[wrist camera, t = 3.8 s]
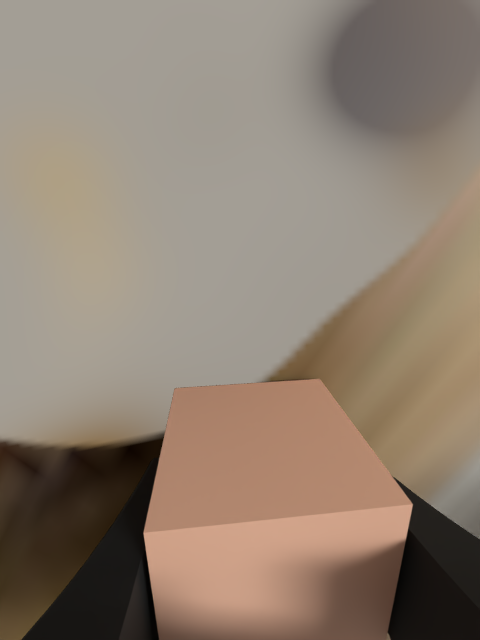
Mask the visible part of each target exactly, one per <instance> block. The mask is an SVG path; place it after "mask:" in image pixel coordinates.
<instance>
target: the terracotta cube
mask: <svg viewBox="0 0 480 640" xmlns="http://www.w3.org/2000/svg"><path fill="white" fill-rule="evenodd" d="M412 506H413V504H412V502H411V501H410V500H409V498H408V497H407V496H406V494H405V493H404V492H403V490H402V489H401V488H400V486H399V485H398V484H397V482H396V481H395V480H394V478H393V477H392V476H391V474H390V473H389V471H388V470H387V469H386V467H385V466H384V465H383V463H382V462H381V461H380V459H379V458H378V457H377V455H376V454H375V453H374V451H373V450H372V449H371V447H370V446H369V445H368V443H367V442H366V441H365V439H364V438H363V437H362V435H361V434H360V432H359V431H358V430H357V428H356V427H355V426H354V424H353V423H352V422H351V420H350V419H349V418H348V416H347V415H346V414H345V412H344V411H343V410H342V408H341V407H340V406H339V404H338V403H337V402H336V400H335V399H334V397H333V396H332V395H331V393H330V392H329V391H328V389H327V388H326V387H325V385H324V384H323V383H322V381H321V380H320V379H310V380H294V381H278V382H263V383H247V384H231V385H216V386H200V387H184V388H175V389H174V393H173V398H172V403H171V407H170V412H169V417H168V421H167V426H166V430H165V435H164V440H163V444H162V449H161V454H160V458H159V463H158V468H157V472H156V477H155V482H154V486H153V491H152V496H151V500H150V505H149V510H148V514H147V519H146V524H145V528H144V540H145V547H146V553H147V560H148V567H149V574H150V581H151V588H152V594H153V601H154V608H155V615H156V622H157V629H158V635H159V640H386V637H387V632H388V627H389V622H390V617H391V612H392V607H393V602H394V597H395V592H396V587H397V582H398V577H399V572H400V567H401V562H402V557H403V552H404V547H405V542H406V536H407V531H408V526H409V521H410V516H411V511H412Z"/></svg>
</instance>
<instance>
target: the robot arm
mask: <svg viewBox="0 0 480 640" xmlns="http://www.w3.org/2000/svg"><path fill="white" fill-rule="evenodd" d="M158 463H159V458H154V459H153V460H152V461H151V462H150V464H149V466H148V468H147V470H146V471H145V473H144V475H143V477H142V478H141V480H140V482H139V484H138V485H137V487H136V488H135V490H134V492H133V493H132V495H131V497H130V498H129V500H128V501H127V503H126V504H125V506H124V508H123V509H122V511H121V512H120V514H119V515H118V517H117V518H116V520H115V521H114V523H113V524H112V526H111V527H110V529H109V530H108V531H107V533H106V534H105V536H104V537H103V538H102V540H101V541H100V543H99V544H98V545H97V547H96V548H95V550H94V551H93V552H92V554H91V555H90V557H89V558H88V559H87V561H86V562H85V563H84V565H83V566H82V567H81V568H80V570H79V571H78V572H77V574H76V575H75V576H74V578H73V579H72V580H71V581H70V583H69V584H68V585H67V586H66V588H65V589H64V590H63V591H62V593H61V594H60V595H59V596H58V597H57V599H56V600H55V601H54V602H53V604H52V605H51V606H50V607H49V608H48V610H47V611H46V612H45V613H44V614H43V615H42V616H41V618H40V619H39V620H38V621H37V622H36V623H35V625H34V626H33V627H32V628H31V629H30V630H29V632H28V633H27V634H26V635H25V636H24V637H23V638H22V640H159V635H158V629H157V622H156V615H155V608H154V601H153V594H152V588H151V581H150V574H149V567H148V560H147V553H146V547H145V540H144V528H145V524H146V519H147V514H148V510H149V505H150V500H151V496H152V491H153V486H154V482H155V477H156V472H157V468H158ZM391 476H392V475H391ZM392 477H393V476H392ZM393 478H394V477H393ZM394 480H395V481H396V482H397V484H398V485H399V486H400V488H401V489H402V490H403V492H404V493H405V494H406V496H407V497H408V498H409V500H410V501H411V502H412V504H413V506H412V511H411V516H410V521H409V526H408V531H407V536H406V542H405V547H404V552H403V557H402V562H401V567H400V572H399V577H398V582H397V587H396V592H395V597H394V602H393V607H392V612H391V617H390V622H389V627H388V634H389V636H390V639H391V640H480V539H478V538H477V537H475V536H473V535H472V534H470V533H469V532H467V531H466V530H464V529H463V528H462V527H460V526H459V525H457V524H456V523H454V522H453V521H451V520H450V519H449V518H447V517H446V516H444V515H443V514H442V513H440V512H439V511H438V510H436V509H435V508H433V507H432V506H431V505H429V504H428V503H427V502H425V501H424V500H423V499H421V498H420V497H419V496H417V495H416V494H415V493H413V492H412V491H411V490H409V489H408V488H407V487H406V486H404V485H403V484H402V483H401V482H399V481H398V480H397V479H396V478H394Z"/></svg>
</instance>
